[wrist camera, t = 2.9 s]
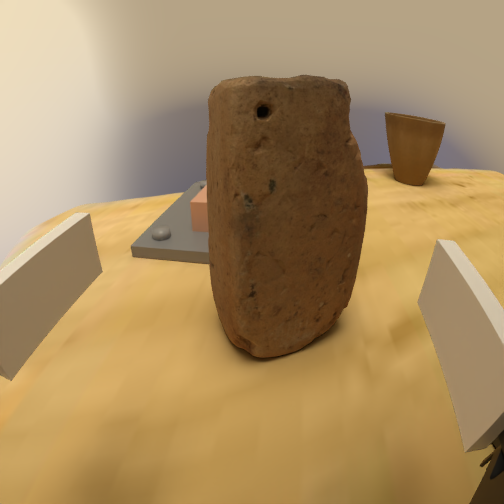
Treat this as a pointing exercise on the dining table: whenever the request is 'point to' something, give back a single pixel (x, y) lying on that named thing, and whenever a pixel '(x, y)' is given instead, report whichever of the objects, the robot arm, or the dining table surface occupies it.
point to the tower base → (179, 230)
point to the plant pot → (412, 146)
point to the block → (282, 209)
